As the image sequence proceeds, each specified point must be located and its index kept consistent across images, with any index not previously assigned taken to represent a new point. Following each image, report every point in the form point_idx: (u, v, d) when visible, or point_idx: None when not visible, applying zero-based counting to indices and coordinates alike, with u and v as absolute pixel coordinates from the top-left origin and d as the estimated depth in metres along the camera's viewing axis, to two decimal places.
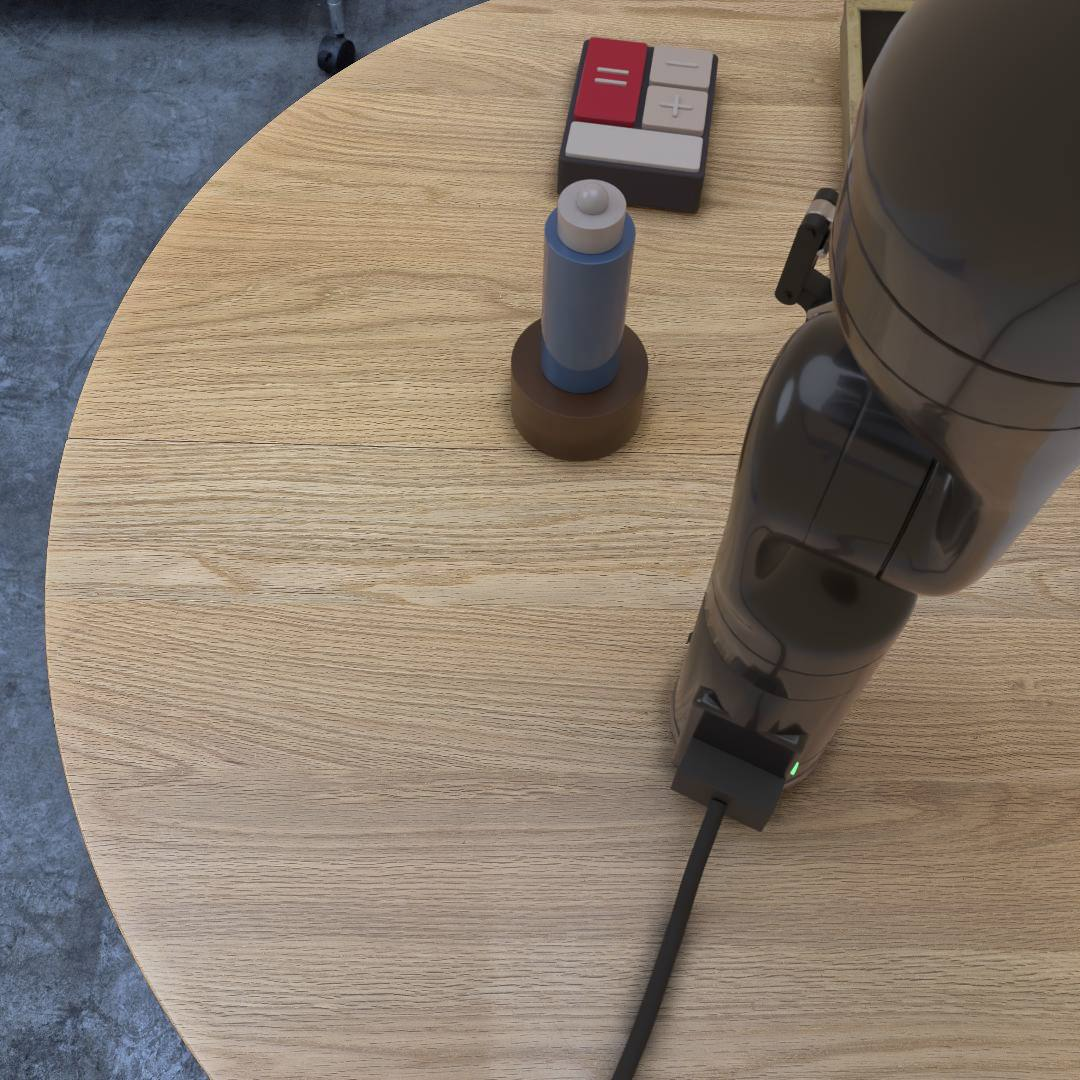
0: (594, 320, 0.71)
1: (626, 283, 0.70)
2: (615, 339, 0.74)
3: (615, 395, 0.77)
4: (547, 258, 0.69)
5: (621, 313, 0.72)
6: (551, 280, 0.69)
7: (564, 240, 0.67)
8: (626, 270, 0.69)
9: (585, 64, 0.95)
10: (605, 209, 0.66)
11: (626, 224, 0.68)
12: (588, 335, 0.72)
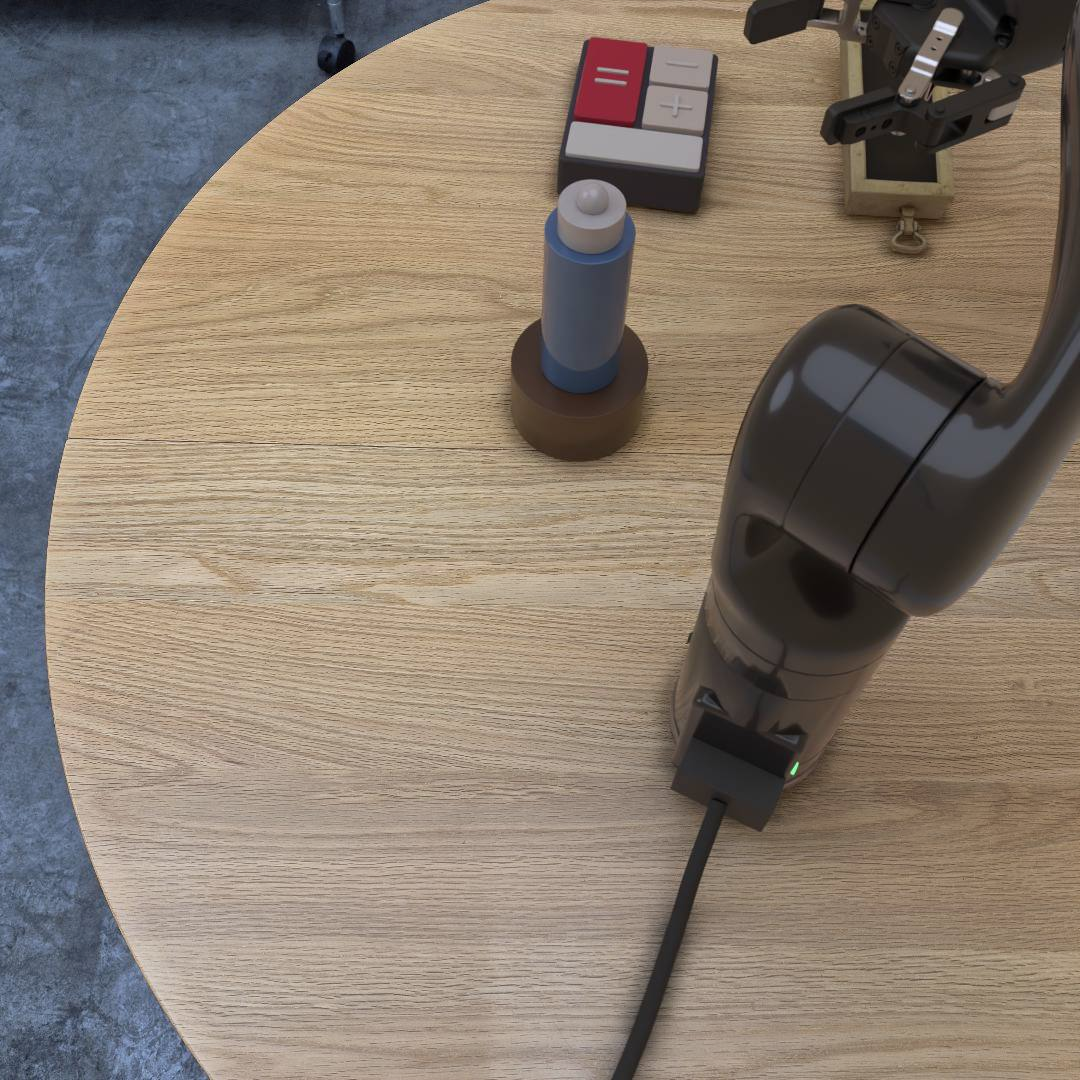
0: (594, 320, 0.71)
1: (626, 283, 0.70)
2: (615, 339, 0.74)
3: (615, 395, 0.77)
4: (547, 258, 0.69)
5: (621, 313, 0.72)
6: (551, 280, 0.69)
7: (564, 240, 0.67)
8: (626, 270, 0.69)
9: (585, 64, 0.95)
10: (605, 209, 0.66)
11: (626, 224, 0.68)
12: (588, 335, 0.72)
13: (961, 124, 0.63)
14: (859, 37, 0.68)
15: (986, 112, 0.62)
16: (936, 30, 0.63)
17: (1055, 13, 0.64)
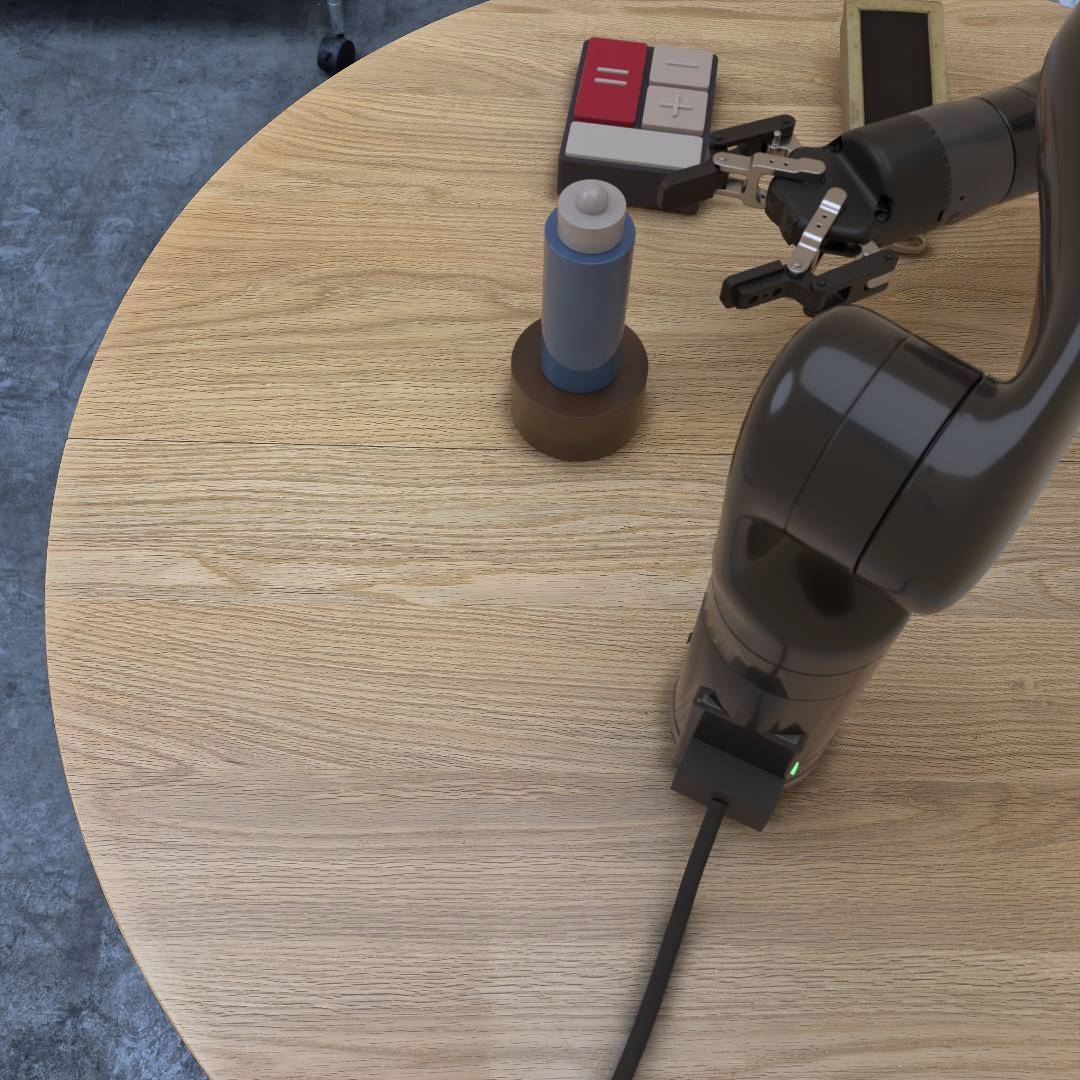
0: (594, 320, 0.71)
1: (626, 283, 0.70)
2: (615, 339, 0.74)
3: (615, 395, 0.77)
4: (547, 258, 0.69)
5: (621, 313, 0.72)
6: (551, 280, 0.69)
7: (564, 240, 0.67)
8: (626, 270, 0.69)
9: (585, 64, 0.95)
10: (605, 209, 0.66)
11: (626, 224, 0.68)
12: (588, 335, 0.72)
13: (843, 292, 0.72)
14: (760, 204, 0.77)
15: (864, 283, 0.71)
16: (822, 208, 0.72)
17: (927, 193, 0.73)
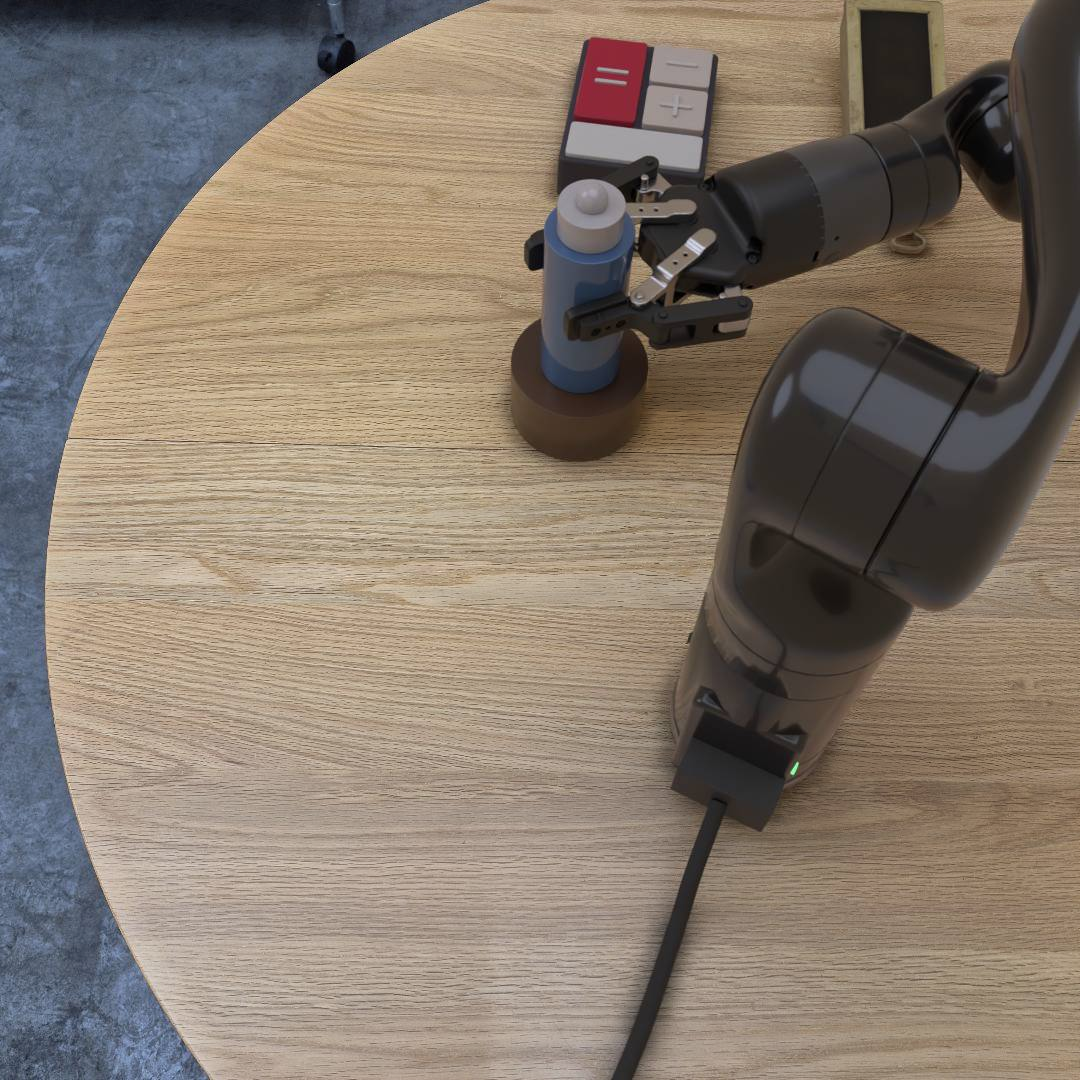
0: None
1: (626, 283, 0.70)
2: (615, 339, 0.74)
3: (615, 395, 0.77)
4: (547, 258, 0.69)
5: None
6: (551, 280, 0.70)
7: (564, 240, 0.67)
8: (626, 270, 0.69)
9: (585, 64, 0.95)
10: (605, 209, 0.66)
11: (626, 224, 0.68)
12: None
13: (692, 330, 0.70)
14: (636, 253, 0.74)
15: (711, 325, 0.69)
16: (687, 246, 0.71)
17: (799, 234, 0.71)
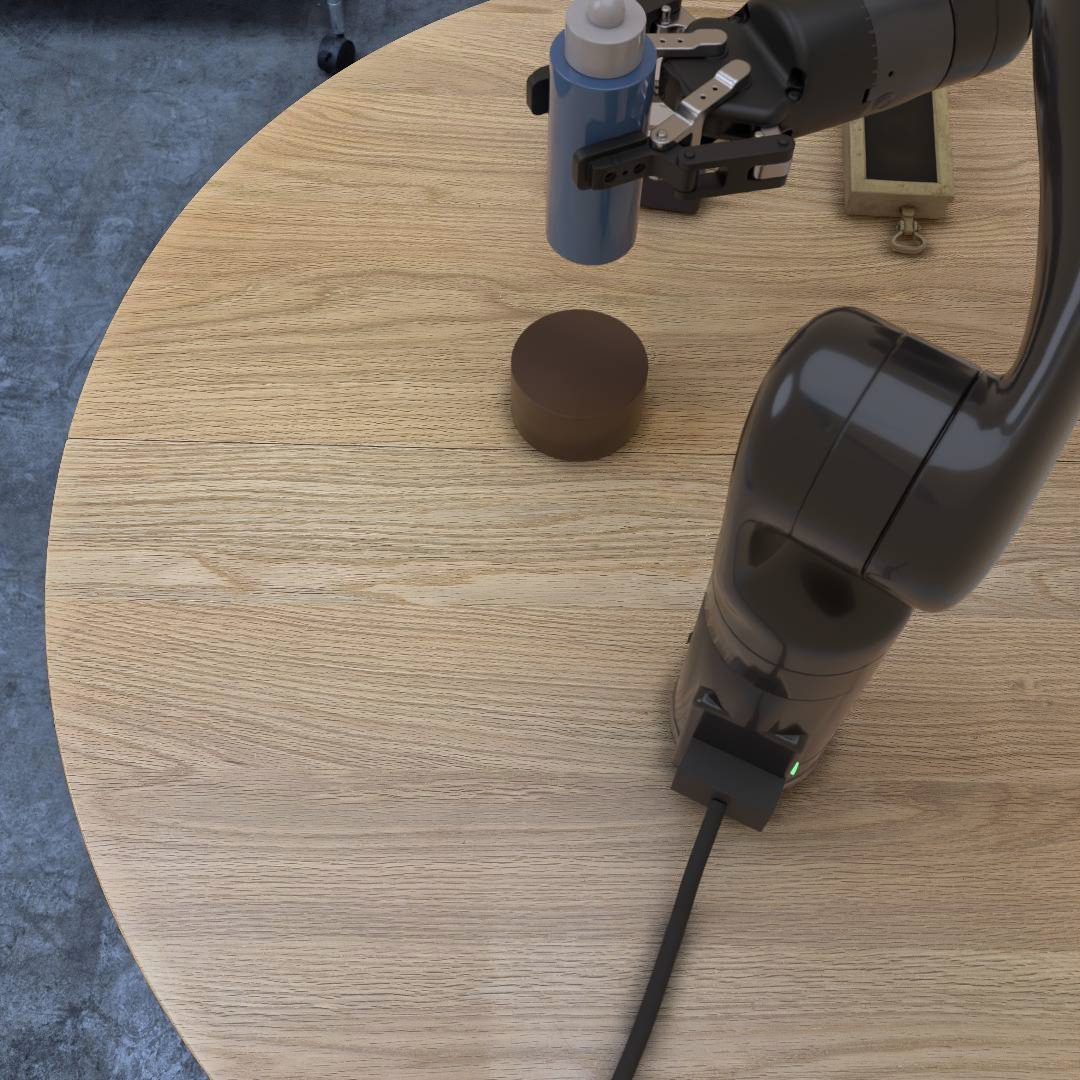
0: None
1: (645, 121, 0.60)
2: (633, 196, 0.64)
3: (615, 395, 0.77)
4: (553, 88, 0.58)
5: None
6: (558, 116, 0.59)
7: (573, 63, 0.57)
8: (646, 103, 0.59)
9: None
10: (622, 22, 0.56)
11: (646, 47, 0.58)
12: None
13: (723, 177, 0.60)
14: (656, 97, 0.64)
15: (746, 168, 0.59)
16: (717, 79, 0.60)
17: (848, 66, 0.61)
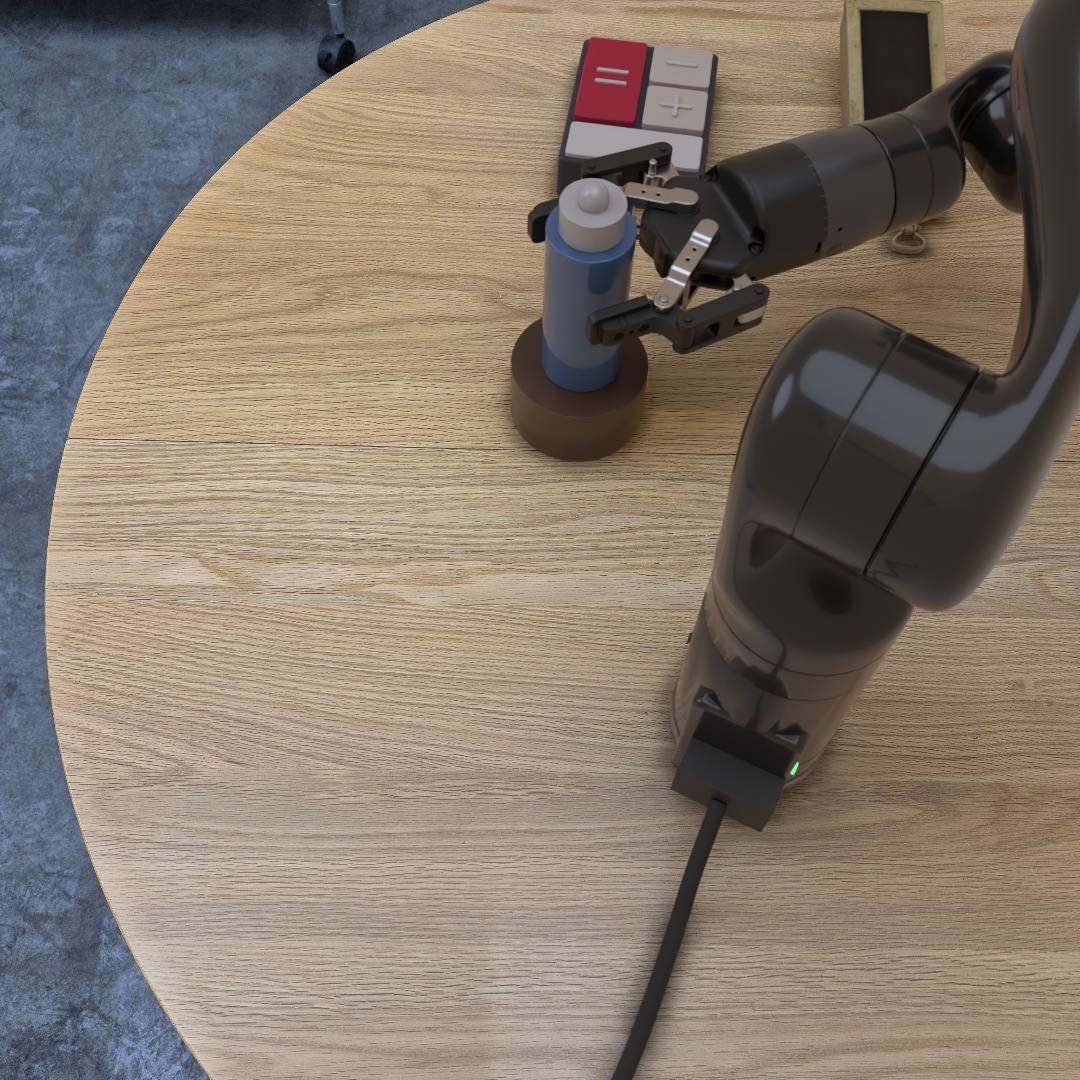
0: None
1: (627, 282, 0.70)
2: None
3: (615, 395, 0.77)
4: (548, 256, 0.69)
5: None
6: (552, 278, 0.70)
7: (565, 238, 0.67)
8: (627, 269, 0.69)
9: (585, 64, 0.95)
10: (607, 207, 0.66)
11: (627, 223, 0.68)
12: None
13: (714, 328, 0.69)
14: None
15: (734, 318, 0.69)
16: (693, 240, 0.70)
17: (802, 224, 0.70)
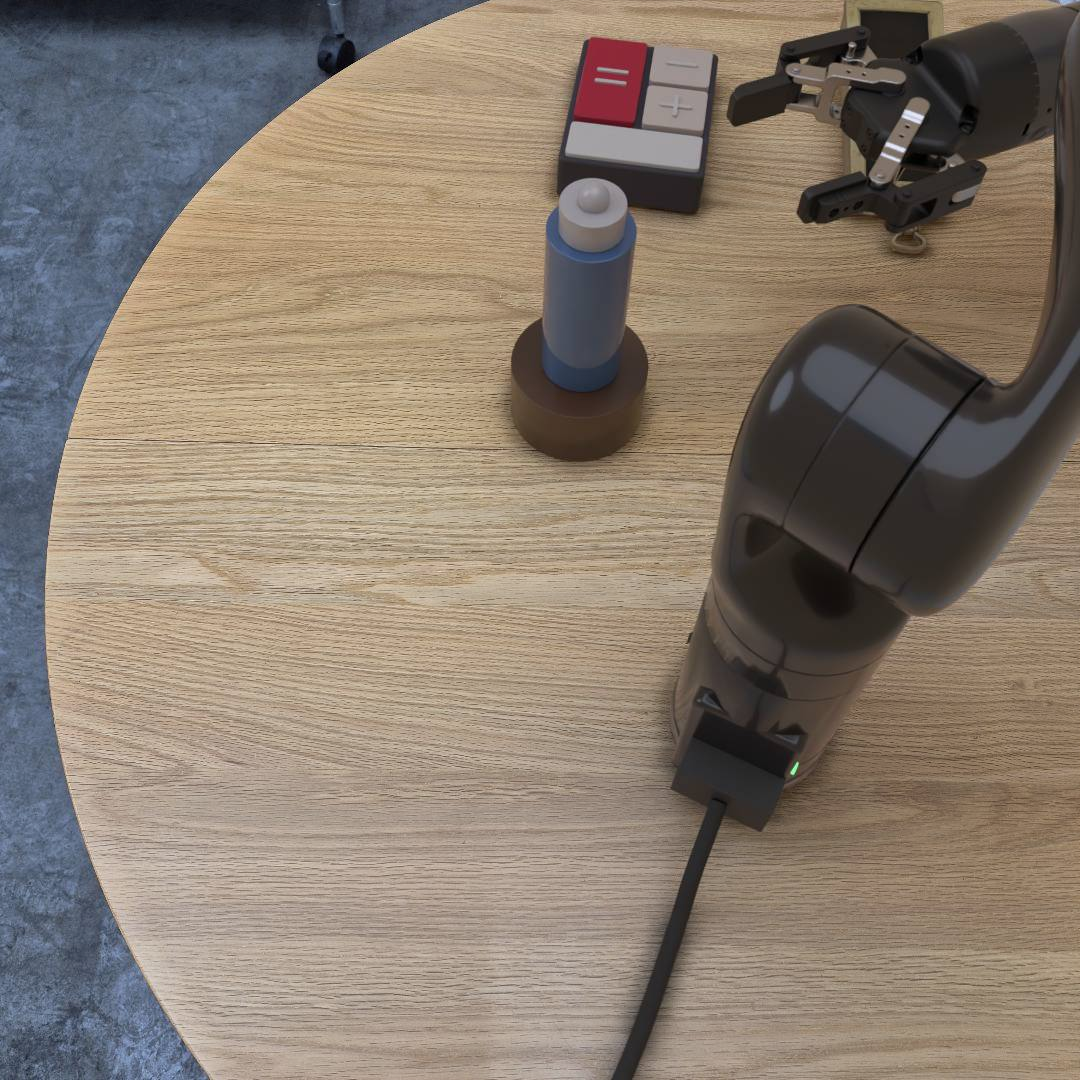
0: (595, 318, 0.71)
1: (627, 282, 0.70)
2: (616, 338, 0.74)
3: (615, 395, 0.77)
4: (548, 256, 0.69)
5: (622, 312, 0.72)
6: (552, 278, 0.70)
7: (565, 238, 0.67)
8: (627, 269, 0.69)
9: (585, 64, 0.95)
10: (607, 207, 0.66)
11: (627, 223, 0.68)
12: (589, 333, 0.72)
13: (927, 206, 0.68)
14: (834, 120, 0.73)
15: (950, 195, 0.67)
16: (905, 118, 0.68)
17: (1014, 103, 0.69)
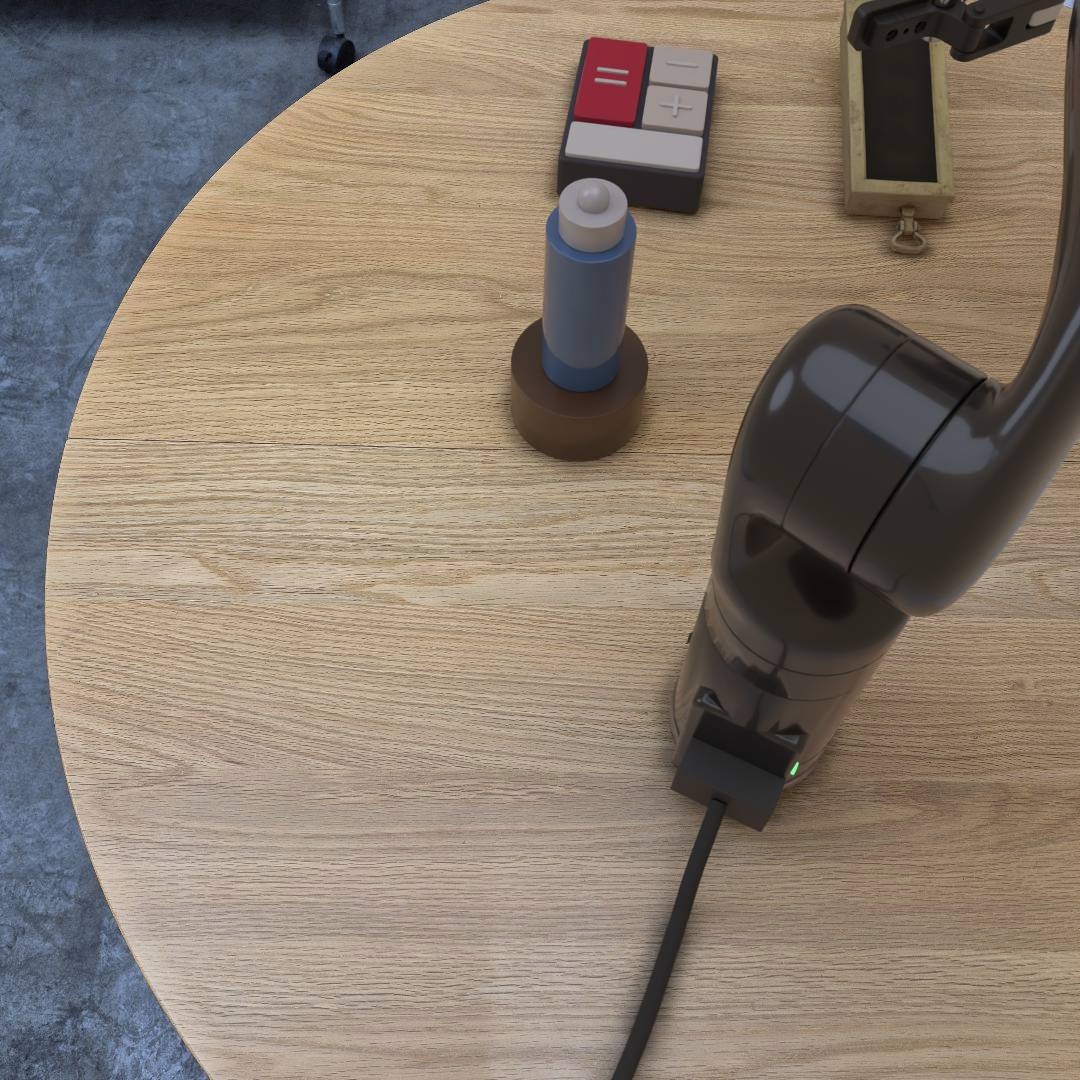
0: (595, 318, 0.71)
1: (627, 282, 0.70)
2: (616, 338, 0.74)
3: (615, 395, 0.77)
4: (548, 256, 0.69)
5: (622, 312, 0.72)
6: (552, 278, 0.70)
7: (565, 238, 0.67)
8: (627, 269, 0.69)
9: (585, 64, 0.95)
10: (607, 207, 0.66)
11: (627, 223, 0.68)
12: (589, 333, 0.72)
13: (1001, 30, 0.58)
14: None
15: (1028, 15, 0.57)
16: None
17: None
